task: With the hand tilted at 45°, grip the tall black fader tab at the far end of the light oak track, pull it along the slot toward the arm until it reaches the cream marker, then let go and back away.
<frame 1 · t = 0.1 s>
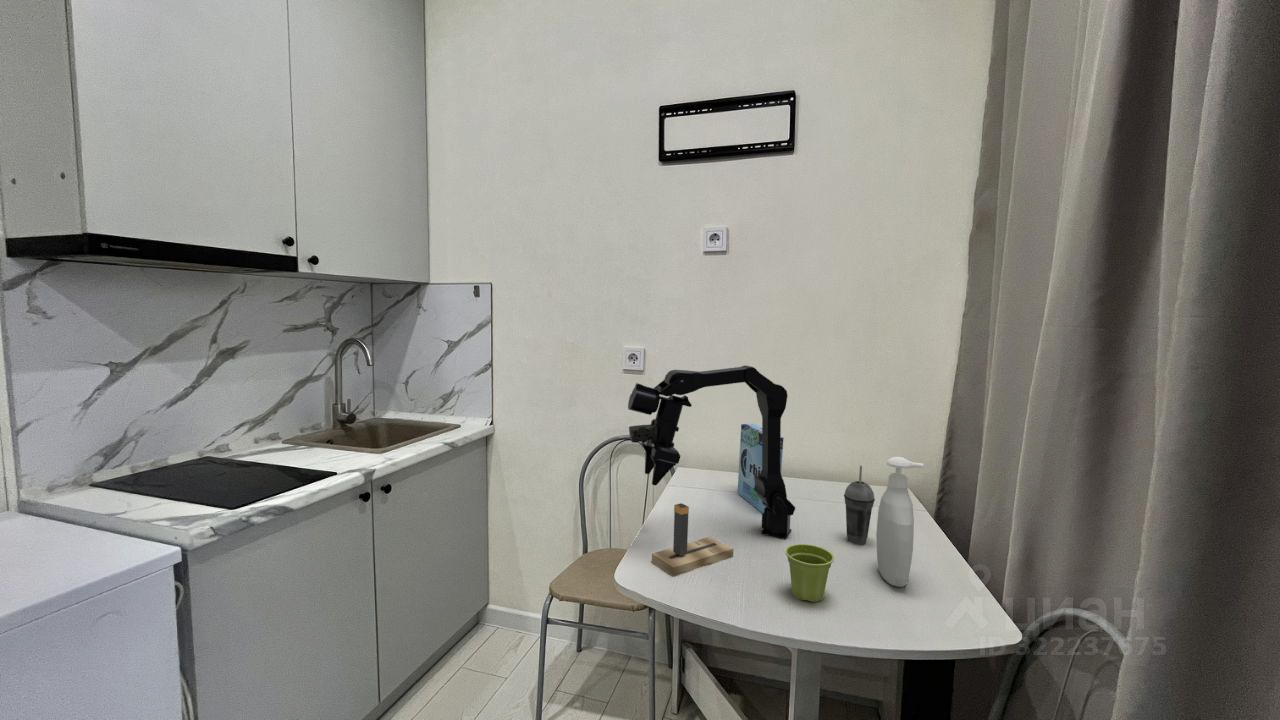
hand: (650, 479, 130), 15 cm above the table, tool pointing down, fingers open, 9 cm apart
soap bottle: (895, 578, 114), on the table
gum box: (757, 504, 159), on the table
fader tab: (680, 529, 118), point 8 cm above the table, slide at 0.0 cm
beverage cup: (856, 542, 133), on the table
plant pot: (807, 595, 106), on the table
fader track: (693, 559, 120), on the table
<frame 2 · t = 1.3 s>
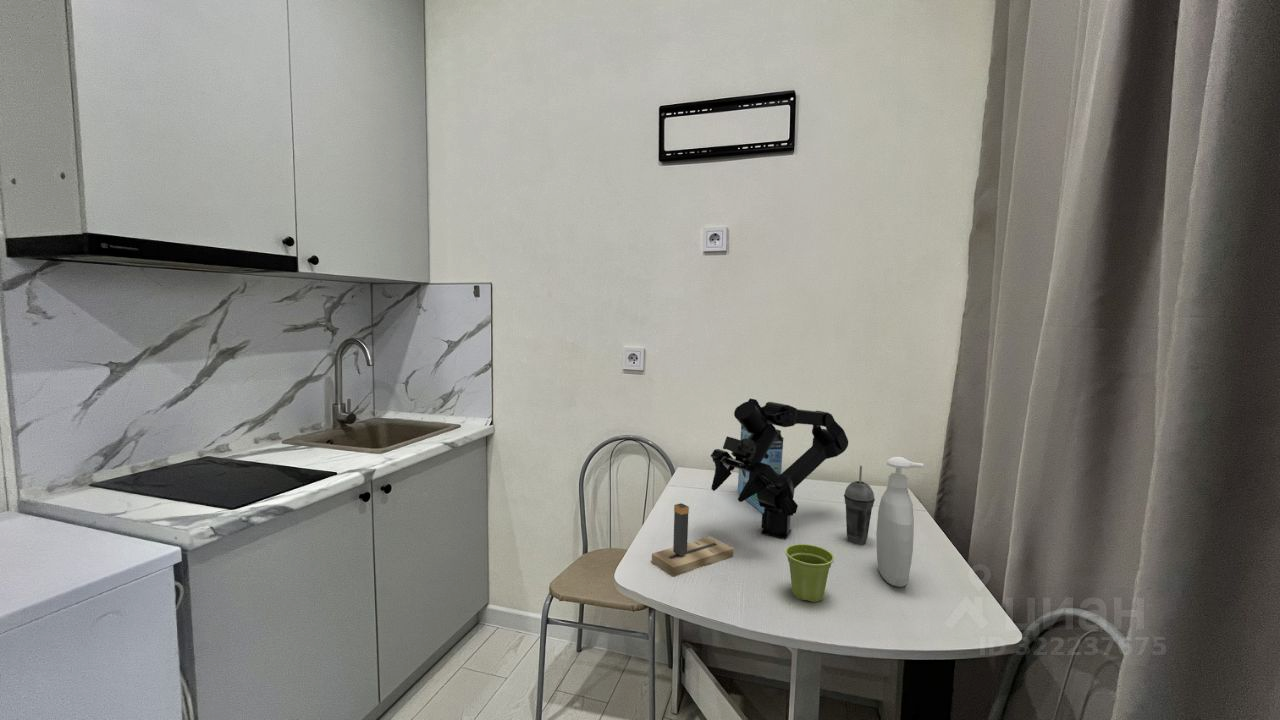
hand: (725, 495, 125), 13 cm above the table, tool tilted 45°, fingers open, 9 cm apart
nothing on the table moved.
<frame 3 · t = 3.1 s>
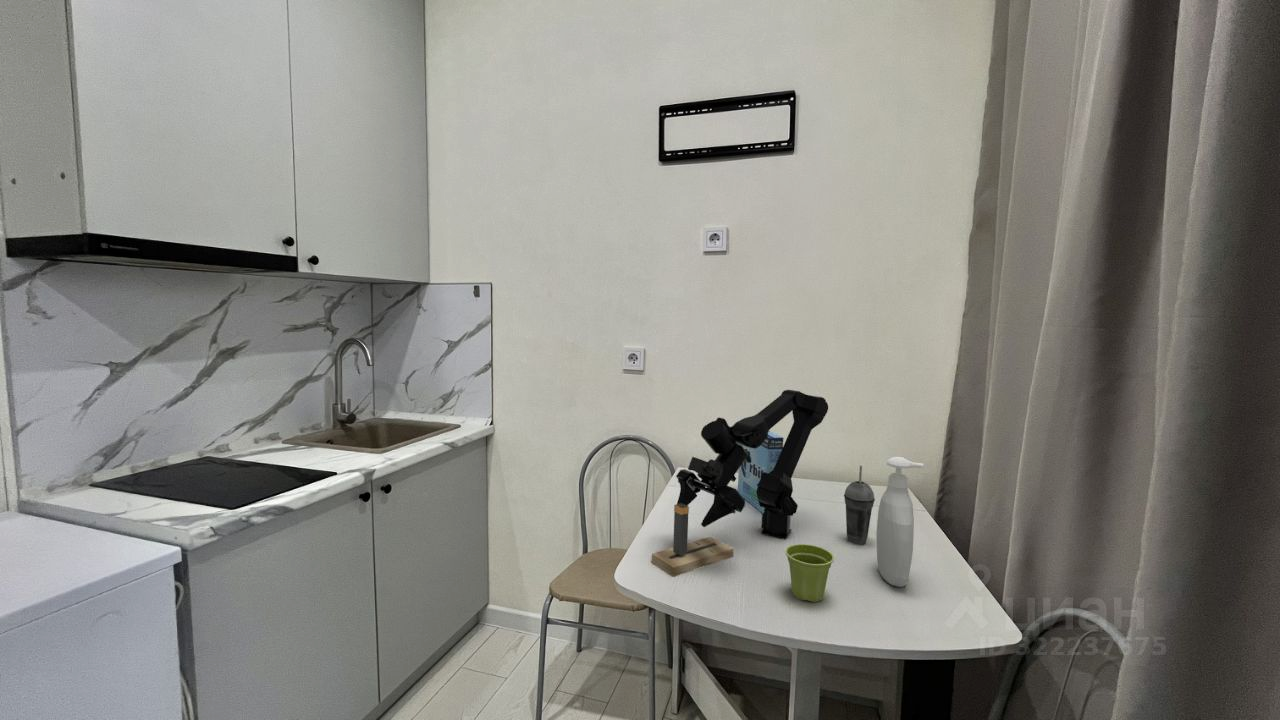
hand: (688, 519, 119), 10 cm above the table, tool tilted 45°, fingers open, 9 cm apart
nothing on the table moved.
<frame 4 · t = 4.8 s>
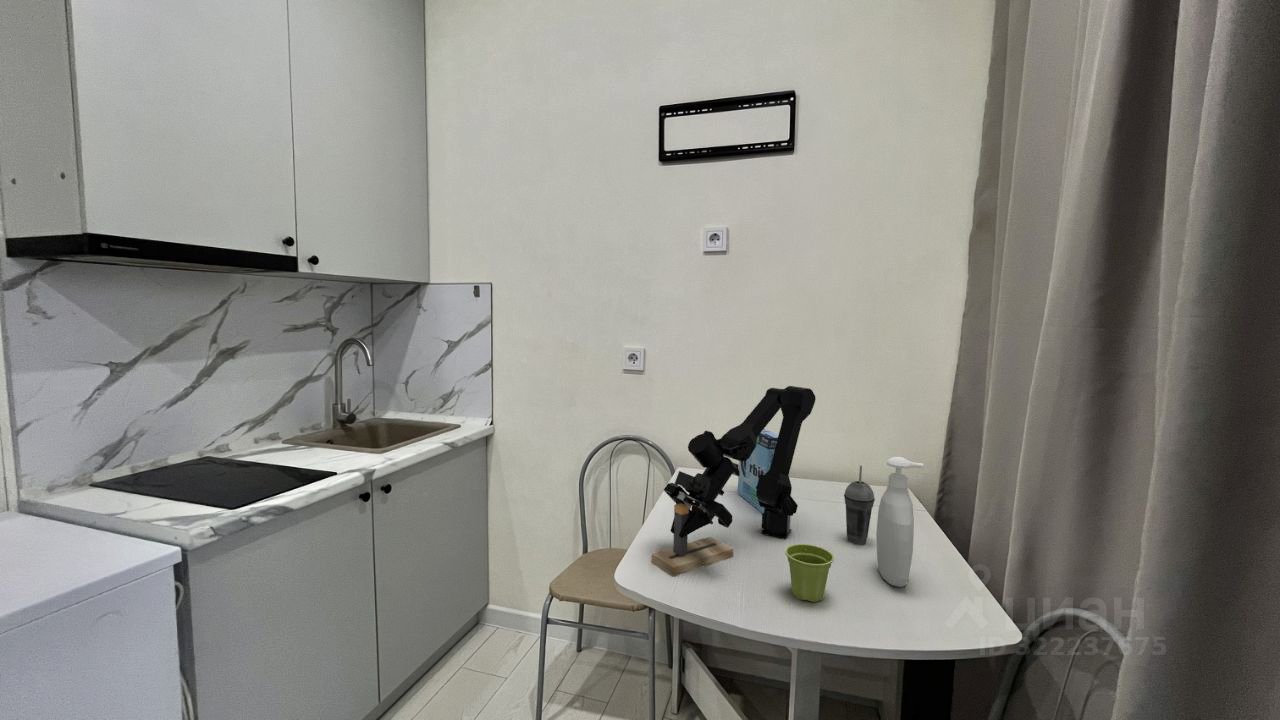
hand: (675, 534, 117), 7 cm above the table, tool tilted 45°, fingers closed on fader tab, 2 cm apart
fader tab: (680, 529, 118), point 8 cm above the table, slide at 0.0 cm, touching gripper
everything else where it was.
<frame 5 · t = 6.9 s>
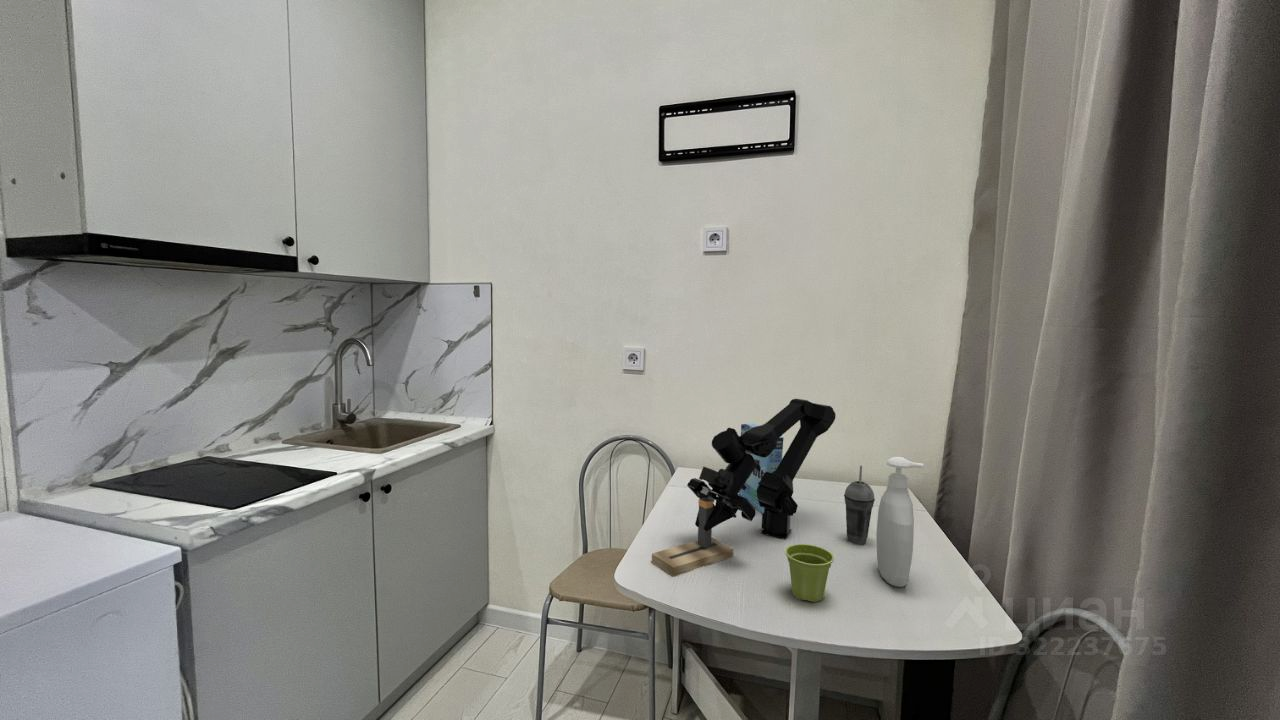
hand: (700, 527, 121), 7 cm above the table, tool tilted 45°, fingers closed on fader tab, 2 cm apart
fader tab: (705, 522, 122), point 8 cm above the table, slide at 7.4 cm, touching gripper
everything else where it was.
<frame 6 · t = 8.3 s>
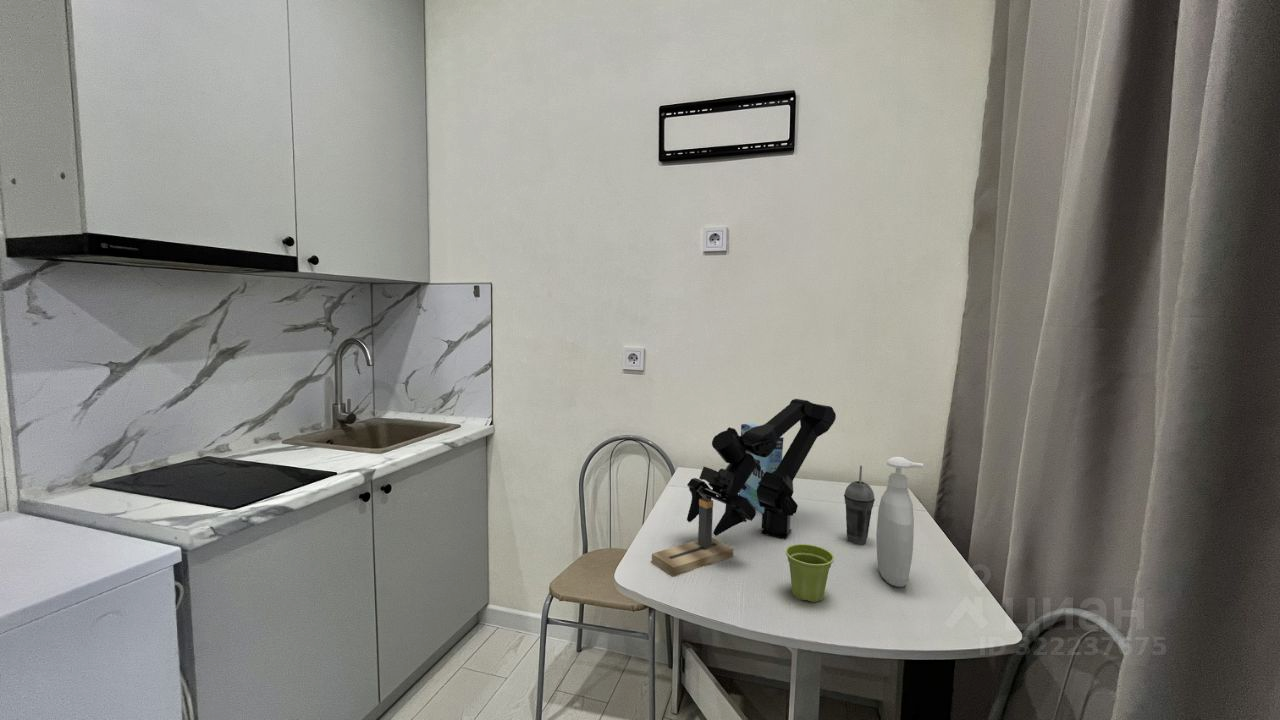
hand: (700, 527, 121), 7 cm above the table, tool tilted 45°, fingers open, 9 cm apart
fader tab: (705, 522, 122), point 8 cm above the table, slide at 7.5 cm
everything else where it was.
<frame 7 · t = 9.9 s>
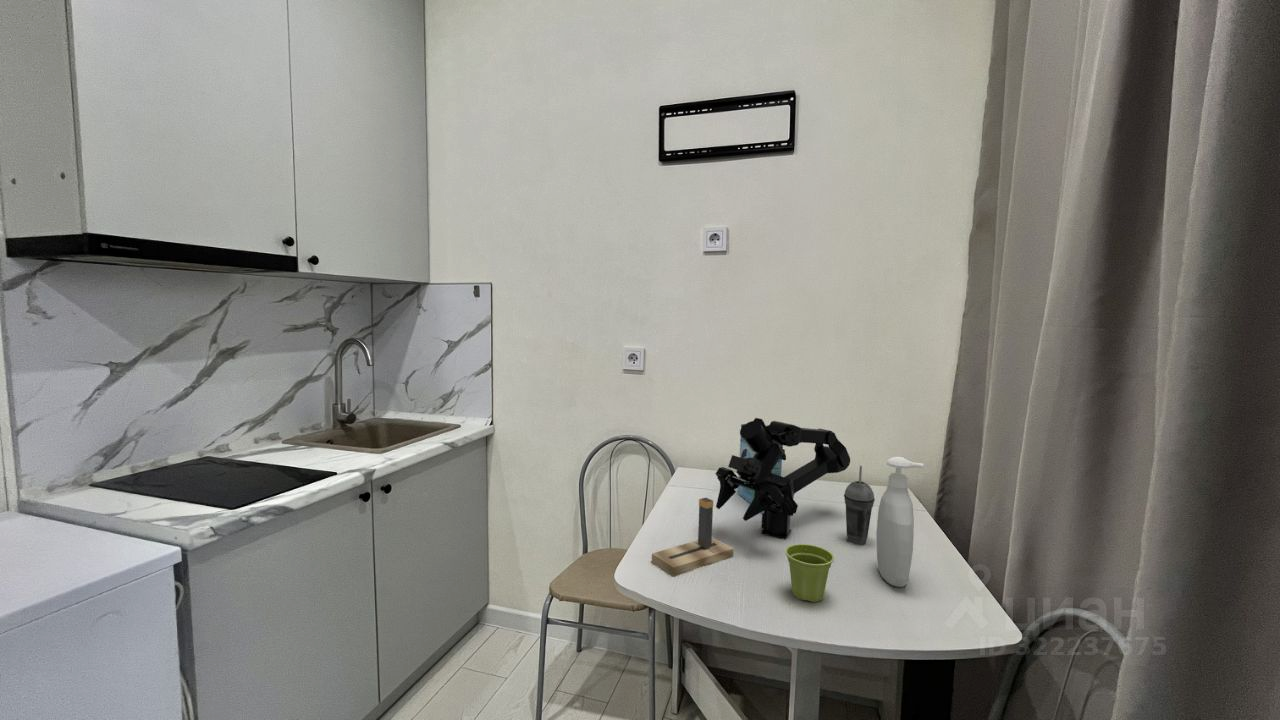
hand: (730, 513, 126), 9 cm above the table, tool tilted 45°, fingers open, 9 cm apart
nothing on the table moved.
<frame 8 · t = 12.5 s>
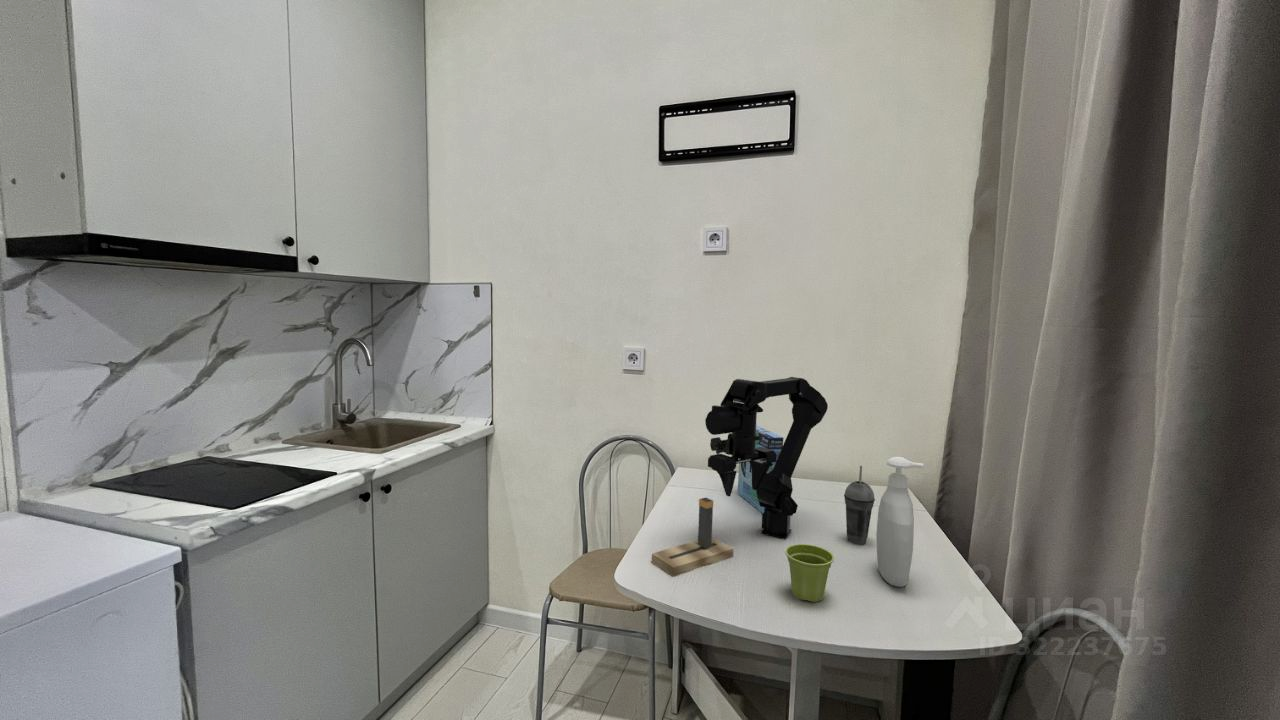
hand: (741, 492, 129), 13 cm above the table, tool pointing down, fingers open, 9 cm apart
nothing on the table moved.
at the end: fader tab slide at 7.5 cm; the gripper is holding nothing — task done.
